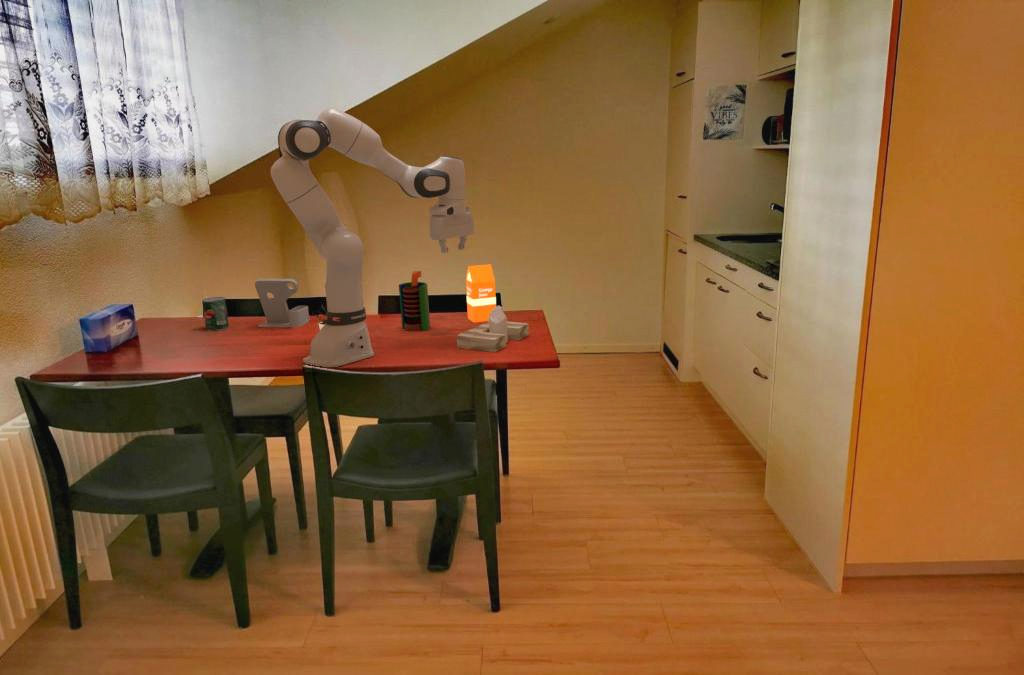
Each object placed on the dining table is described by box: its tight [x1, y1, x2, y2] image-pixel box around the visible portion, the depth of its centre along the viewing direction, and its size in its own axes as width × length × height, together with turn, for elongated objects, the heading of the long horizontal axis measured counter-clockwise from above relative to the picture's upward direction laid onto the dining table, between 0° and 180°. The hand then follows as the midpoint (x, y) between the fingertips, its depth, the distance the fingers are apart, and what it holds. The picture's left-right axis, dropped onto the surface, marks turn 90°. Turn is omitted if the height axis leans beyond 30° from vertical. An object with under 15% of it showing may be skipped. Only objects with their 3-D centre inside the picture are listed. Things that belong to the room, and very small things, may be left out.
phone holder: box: [254, 278, 310, 328], centre depth 269 cm, size 17×10×18 cm, turn 79°
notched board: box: [456, 321, 530, 353], centre depth 238 cm, size 22×14×4 cm, turn 150°
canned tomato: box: [201, 296, 230, 332], centre depth 267 cm, size 8×8×11 cm
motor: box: [398, 270, 431, 332], centre depth 257 cm, size 10×9×20 cm
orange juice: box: [465, 263, 497, 323], centre depth 267 cm, size 8×9×20 cm
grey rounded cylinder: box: [488, 305, 509, 344], centre depth 236 cm, size 6×12×6 cm
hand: (453, 251), depth 238 cm, fingers open, 8 cm apart
